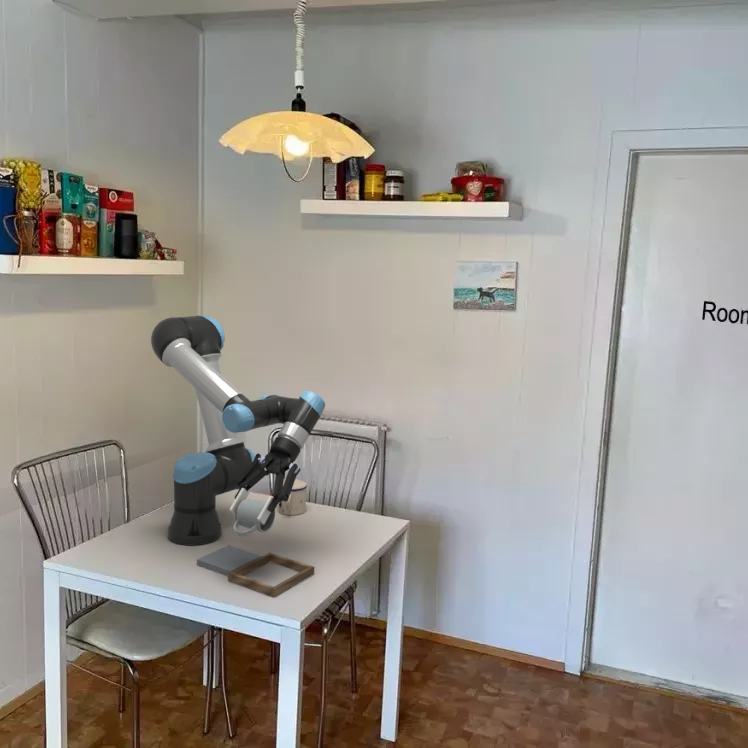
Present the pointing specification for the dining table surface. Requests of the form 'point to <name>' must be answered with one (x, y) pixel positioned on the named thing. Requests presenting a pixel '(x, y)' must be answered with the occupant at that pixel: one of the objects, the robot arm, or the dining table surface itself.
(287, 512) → the teacup with lid
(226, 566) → the grey board
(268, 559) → the walnut frame
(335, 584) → the dining table surface
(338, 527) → the dining table surface
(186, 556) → the dining table surface
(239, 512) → the ceramic mug
